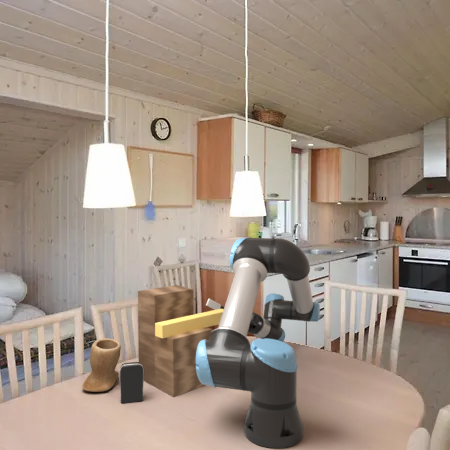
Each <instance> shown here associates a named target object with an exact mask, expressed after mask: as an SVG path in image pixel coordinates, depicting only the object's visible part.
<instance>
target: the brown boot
mask: <svg viewBox="0 0 450 450" xmlns="http://www.w3.org/2000/svg"><path fill="white" fill-rule="evenodd" d="M121 349H122V345H121V344H120V342H119V341H117V340H115V339H112V338H107V337H106V338H100V339H97V340H95V341H94V342H93V343H92V345H91V348H90V354H89V362H90V363H89V364H90V367H91V372H90V373H89V375H87V377H86V379H85V380H84V381H83V384H82V385H81V386H82V387H81V388H82V389H83V391H86V392H93V393H96V392H97V393H98V392H100V393H101V392H106V391H109V390H111V389H112V387H113V386H114V384H115V383H116V381H117V379H118V377H119V376H120V372H118V371H117V370H116V367H117V365H118V362H119V360H120V357H121Z"/></svg>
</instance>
